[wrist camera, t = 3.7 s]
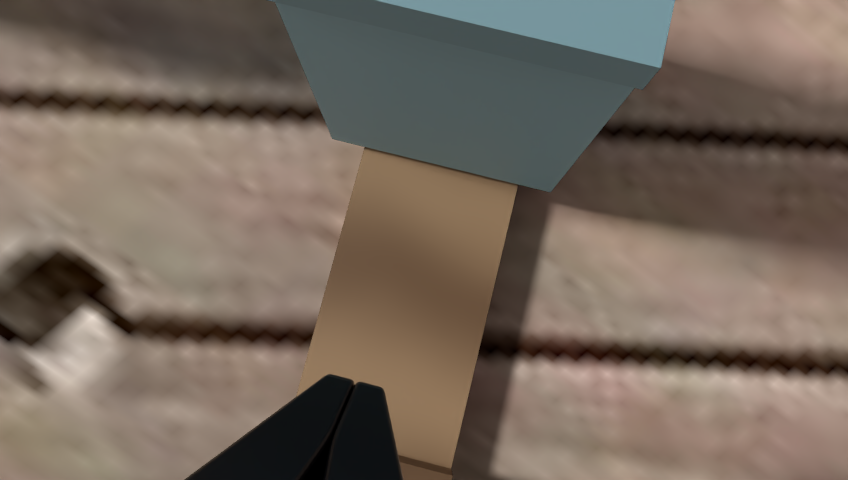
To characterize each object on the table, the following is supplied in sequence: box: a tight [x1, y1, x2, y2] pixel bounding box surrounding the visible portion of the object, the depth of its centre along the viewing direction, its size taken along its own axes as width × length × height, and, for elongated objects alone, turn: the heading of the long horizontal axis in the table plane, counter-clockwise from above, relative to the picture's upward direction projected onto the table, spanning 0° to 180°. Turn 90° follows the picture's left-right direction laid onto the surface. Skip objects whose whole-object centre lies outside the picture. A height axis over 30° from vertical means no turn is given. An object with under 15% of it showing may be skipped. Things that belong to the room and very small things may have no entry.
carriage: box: [268, 0, 675, 192], centre depth 17 cm, size 6×7×10 cm
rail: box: [296, 147, 518, 480], centre depth 22 cm, size 24×5×2 cm, turn 166°
